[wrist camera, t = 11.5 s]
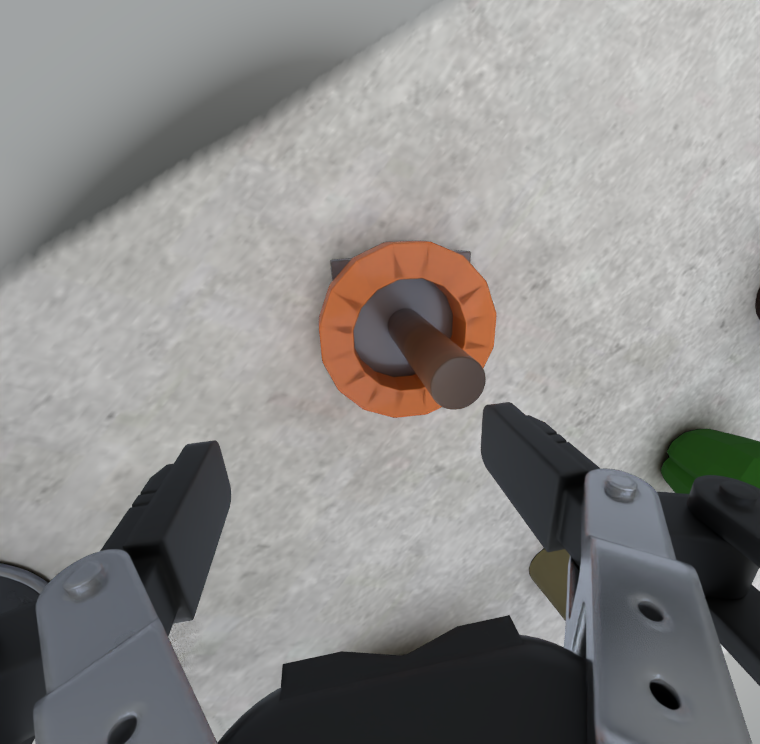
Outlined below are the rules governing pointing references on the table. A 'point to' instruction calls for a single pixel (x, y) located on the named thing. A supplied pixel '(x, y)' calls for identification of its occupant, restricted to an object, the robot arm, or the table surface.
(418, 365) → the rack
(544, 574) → the cork
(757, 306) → the coffee mug
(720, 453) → the bell pepper
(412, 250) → the orange ridged ring
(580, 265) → the table surface
